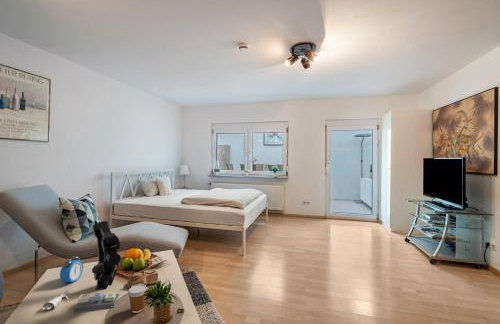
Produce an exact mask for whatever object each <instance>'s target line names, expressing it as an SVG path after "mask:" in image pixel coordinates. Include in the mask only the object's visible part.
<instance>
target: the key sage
mask: <svg viewBox="0 0 500 324" xmlns="http://www.w3.org/2000/svg"><path fill="white" fill-rule="evenodd" d="M116 294H117V292H108V293H106V297H105V302H107V301H114V299H115V297H116Z"/></svg>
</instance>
